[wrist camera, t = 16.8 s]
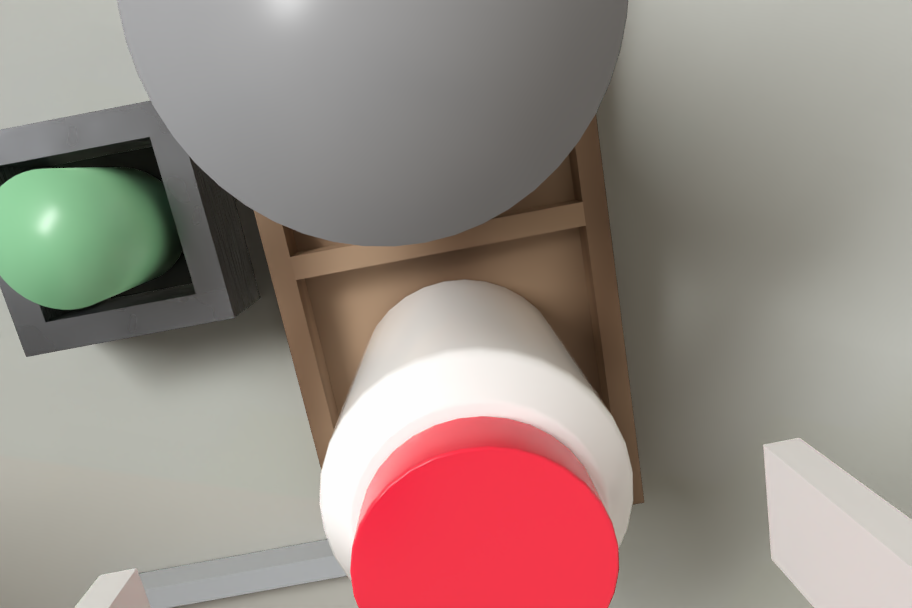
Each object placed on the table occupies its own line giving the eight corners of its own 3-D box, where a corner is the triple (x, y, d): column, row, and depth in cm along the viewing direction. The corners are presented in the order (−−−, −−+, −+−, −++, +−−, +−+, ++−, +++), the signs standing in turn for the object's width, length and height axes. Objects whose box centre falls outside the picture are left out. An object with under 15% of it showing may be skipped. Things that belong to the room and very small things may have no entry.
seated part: (316, 222, 21) (197, 285, 11) (256, -30, 20) (39, -257, 9) (546, 178, 21) (654, 199, 11) (508, -79, 19) (594, -370, 9)
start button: (89, 291, 22) (13, 321, 18) (51, 178, 21) (-39, 183, 17) (199, 271, 22) (147, 295, 18) (166, 156, 21) (103, 156, 17)
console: (78, 331, 23) (26, 356, 20) (13, 142, 21) (-54, 140, 18) (260, 297, 23) (234, 317, 20) (208, 105, 21) (171, 96, 18)
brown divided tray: (351, 526, 25) (344, 556, 23) (199, -69, 20) (173, -94, 18) (628, 475, 25) (644, 502, 23) (548, -138, 20) (560, -170, 18)
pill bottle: (607, 378, 23) (752, 569, 12) (462, 508, 24) (481, 785, 14) (465, 234, 22) (491, 309, 11) (317, 380, 23) (211, 576, 12)
